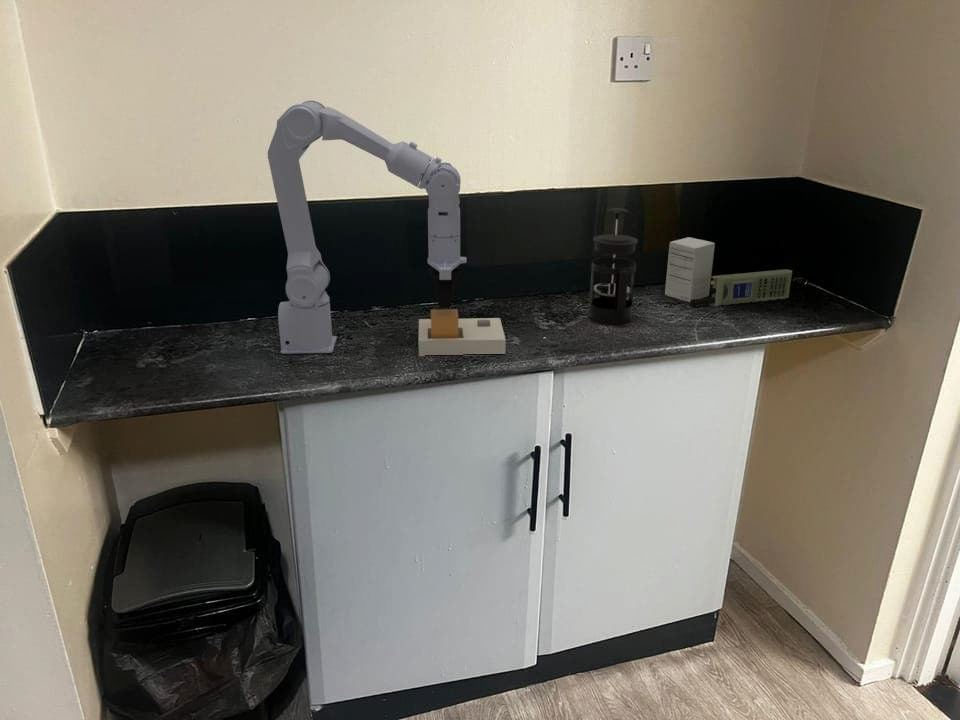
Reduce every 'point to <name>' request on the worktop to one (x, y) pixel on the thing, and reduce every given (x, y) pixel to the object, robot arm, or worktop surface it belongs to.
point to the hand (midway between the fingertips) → (444, 306)
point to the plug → (444, 323)
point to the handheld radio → (748, 288)
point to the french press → (612, 295)
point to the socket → (464, 338)
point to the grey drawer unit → (689, 269)
